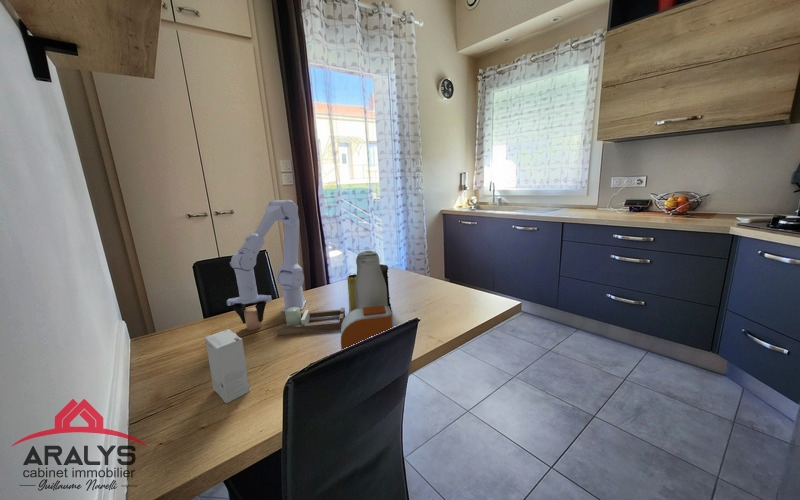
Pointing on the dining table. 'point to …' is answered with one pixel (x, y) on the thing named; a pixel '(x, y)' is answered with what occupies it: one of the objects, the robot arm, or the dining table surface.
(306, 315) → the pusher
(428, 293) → the dining table surface
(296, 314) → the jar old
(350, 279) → the vase
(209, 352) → the skincare box
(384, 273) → the container
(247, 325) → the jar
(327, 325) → the lane
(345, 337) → the alarm clock
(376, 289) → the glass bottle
